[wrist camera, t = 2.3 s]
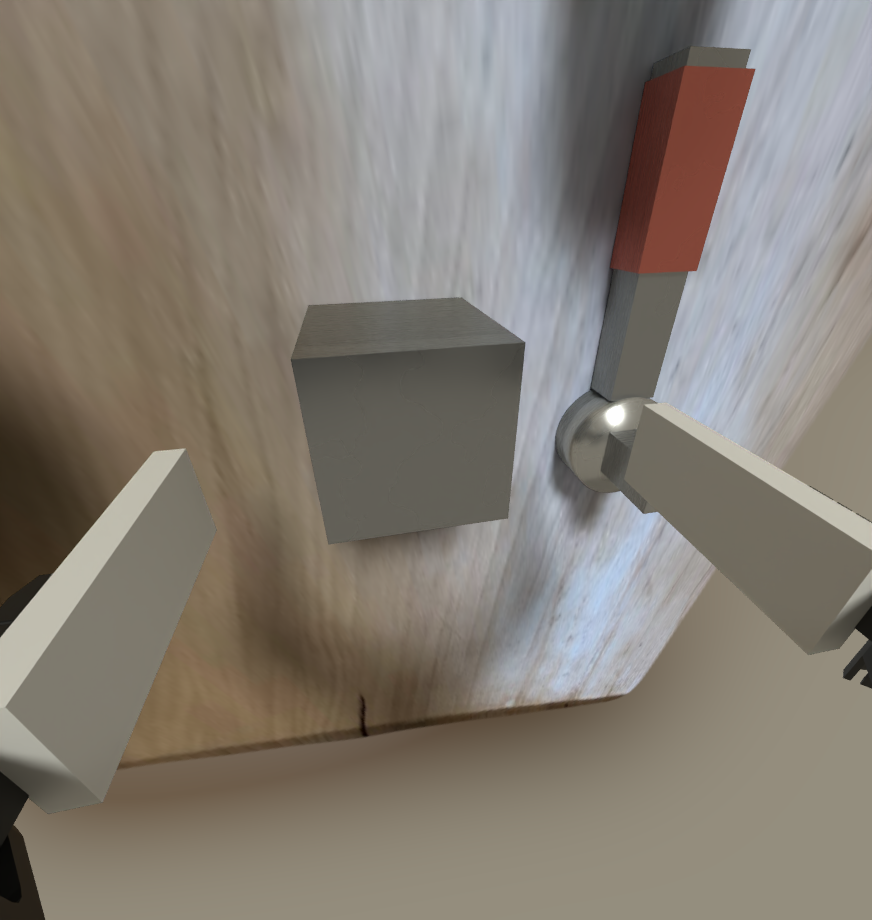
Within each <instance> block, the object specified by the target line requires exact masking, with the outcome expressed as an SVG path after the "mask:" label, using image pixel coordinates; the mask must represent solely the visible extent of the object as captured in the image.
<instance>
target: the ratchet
mask: <svg viewBox="0 0 872 920" xmlns="http://www.w3.org/2000/svg"><path fill="white" fill-rule="evenodd" d="M750 51H751V49H733V48H715V47H697V46H690V47H688V48H686V49H684V50H682V51H679V52H677V53H675V54H673V55H671V56H669V57H667V58H665V59H662V60H660V61H658V62H656V63H654V65H653V70H652V75H651V80H650V81H647V82H645V85H644V91H643V96H642V101H641V107H640V112H639V117H638V122H637V128H636V133H635V138H634V144H633V149H632V154H631V159H630V165H629V170H628V175H627V181H626V186H625V191H624V196H623V202H622V207H621V212H620V217H619V223H618V228H617V233H616V239H615V244H614V249H613V254H612V260H611V265H610V268H614V271H613V276H612V281H611V287H610V292H609V297H608V302H607V307H606V312H605V317H604V323H603V328H602V333H601V338H600V343H599V348H598V354H597V359H596V364H595V369H594V374H593V379H592V384H591V388H592V390H590V391H588V392H586V393H585V394H584V395H582V396H581V397H579V398H578V399H577V400H576V401H575V402H574V403H573V404H572V405H571V406H570V407H569V408H568V410H567V411H566V412H565V414H564V416H563V417H562V419H561V421H560V423H559V426H558V429H557V433H556V448H557V452H558V454H559V456H560V458H561V459H562V460H563V462H564V463H565V464H566V465H567V466H568V467H569V468H570V469H571V471H572V472H573V473H574V474H575V475H576V476H577V477H578V478H579V479H580V481H581V482H582V483H583V484H584V485H585V486H587V487H588V488H590V489H592V490H594V491H597V492H603V493H610V492H617V491H621V492H622V493H623V494H624V495H625V496H626V497H627V498H628V499H629V500H630V501H631V502H632V503H633V504H634V505H635V506H636V507H637V508H638V509H639V510H640V511H641V512H642V513H643V514H646V513H652V512H658V511H657V510H656V509H654V508H653V507H652V506H651V505H650V504H649V503H648V502H647V501H646V500H645V499H644V498H643V497H642V496H641V495H640V494H639V493H638V492H637V491H636V490H635V489H633V488H632V487H631V486H630V485H629V484H628V483H627V482H626V481H625V480H624V477H625V473H626V470H627V466H628V462H629V458H630V454H631V451H632V447H633V443H634V439H635V436H636V432H637V428H638V424H639V421H640V417H641V413H642V409H643V405H646V404H657V402H655V401H653V400H652V399H650V397H653V395H654V392H655V388H656V385H657V381H658V378H659V374H660V370H661V367H662V363H663V360H664V356H665V353H666V349H667V346H668V342H669V339H670V335H671V331H672V328H673V324H674V321H675V317H676V314H677V310H678V307H679V303H680V299H681V296H682V292H683V289H684V285H685V282H686V278H687V275H688V271H697V268H698V264H699V261H700V258H701V254H702V251H703V247H704V244H705V240H706V237H707V233H708V230H709V227H710V223H711V220H712V216H713V213H714V209H715V206H716V203H717V199H718V196H719V192H720V189H721V185H722V182H723V178H724V175H725V172H726V168H727V165H728V161H729V158H730V154H731V151H732V148H733V144H734V141H735V137H736V134H737V130H738V127H739V124H740V120H741V117H742V113H743V110H744V106H745V103H746V99H747V96H748V93H749V89H750V86H751V82H752V79H753V75H754V72H755V69H747V68H746V65H747V62H748V58H749V54H750Z"/></svg>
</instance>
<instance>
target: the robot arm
mask: <svg viewBox="0 0 872 920" xmlns="http://www.w3.org/2000/svg"><path fill="white" fill-rule="evenodd" d="M624 480H625V481H626V482H627V483H628V484H629V485H630V486H631V487H632V488H633V489H635V490H636V491H637V492H638V493H639V494H640V495H641V496H642V497H643V498H644V499H645V500H646V501H647V502H648V503H649V504H650V505H651V506H652V507H653V508H654V509H656V510H657V511H658V512H659V513H660V514H661V515H662V516H663V517H664V518H665V519H666V520H667V521H668V522H669V523H670V524H671V525H672V526H673V527H674V528H675V529H677V530H678V531H679V532H680V533H681V534H682V535H683V536H684V537H685V538H686V539H687V540H688V541H689V542H690V543H691V544H692V545H693V546H694V547H695V548H696V549H697V550H699V551H700V552H701V553H702V554H703V555H704V556H705V557H706V558H707V559H708V560H709V561H710V562H711V563H712V564H713V565H714V566H715V567H716V568H717V569H718V570H720V571H721V572H722V573H723V574H724V575H725V576H726V577H727V578H728V579H729V580H730V581H731V582H732V583H733V584H734V585H735V586H736V587H737V588H739V589H740V591H742V592H743V593H744V594H745V595H746V596H747V597H748V598H749V599H750V600H751V601H752V602H753V603H754V604H755V605H756V606H757V607H758V608H759V609H760V610H762V611H763V612H764V613H765V614H766V615H767V616H768V617H769V618H770V619H771V620H772V621H773V622H774V623H775V624H776V625H777V626H778V627H779V628H780V629H781V630H782V631H784V632H785V633H786V634H787V635H788V636H789V637H790V638H791V639H792V640H793V641H794V642H795V643H796V644H797V645H798V646H799V647H800V648H801V649H802V650H803V651H805V652H806V653H807V654H808V655H811V654H815V653H820V652H825V651H830V650H834V649H839V648H840V647H841V646H842V645H843V643H844V642H845V641H846V640H847V638H848V637H849V636H850V635H851V633H852V632H853V631H854V630H855V628H856V629H857V630H858V631H859V632H861V633H862V634H863V635H864V636H865V637H867V638H868V639H869V640H868V641H867V643H866V644H865V645H864V646H863V647H862V648H861V650H860V651H859V652H858V653H857V654H856V655H855V657H854V658H853V659H852V660H851V661H850V663H849V664H848V665H847V666H846V667H845V669H844V672H843V678H845V679H847V680H851V679H852V678H853V677H854V676H855V675H856V674H857V672H858V671H859V670H860V669H863V670H867V671H868V674H867V675H866V676H865V677H864V678H863V680H862V681H861V683H860V684H861V685H864V686H867V687H869V688H872V522H871V521H869V520H867V519H866V518H864V517H862V516H861V515H859V514H857V513H856V514H855V513H854V512H852V510H850V509H849V508H847V507H845V506H843V505H842V504H840V503H838V502H835V501H833V499H831V498H830V497H828V496H826V495H825V494H823V493H821V492H820V491H818V490H816V489H814V488H813V487H811V486H808V485H806V484H804V483H803V482H801V481H799V480H797V479H796V478H794V477H792V476H791V475H789V474H787V473H785V472H784V471H782V470H780V469H779V468H777V467H775V466H773V465H772V464H770V463H768V462H767V461H765V460H763V459H762V458H760V457H758V456H756V455H755V454H753V453H751V452H750V451H748V450H746V449H744V448H743V447H741V446H739V445H738V444H736V443H734V442H732V441H731V440H729V439H727V438H726V437H724V436H722V435H721V434H719V433H717V432H715V431H714V430H712V429H710V428H709V427H707V426H705V425H703V424H702V423H700V422H698V421H697V420H695V419H693V418H692V417H690V416H688V415H686V414H685V413H683V412H681V411H680V410H678V409H676V408H674V407H673V406H671V405H669V404H668V403H657V404H646V405H643V409H642V413H641V417H640V421H639V424H638V428H637V432H636V436H635V439H634V443H633V447H632V451H631V454H630V458H629V462H628V466H627V470H626V473H625V477H624ZM215 533H216V527H215V524H214V522H213V519H212V516H211V514H210V511H209V508H208V506H207V503H206V501H205V498H204V495H203V493H202V490H201V487H200V485H199V482H198V479H197V477H196V474H195V472H194V469H193V466H192V464H191V461H190V458H189V456H188V453H187V450H186V449H176V450H165V451H155V452H153V453H152V454H151V456H150V457H149V458H148V459H147V460H146V462H145V463H144V464H143V465H142V467H141V468H140V469H139V470H138V471H137V473H136V474H135V475H134V476H133V477H132V479H131V480H130V481H129V482H128V484H127V485H126V486H125V487H124V488H123V490H122V491H121V492H120V493H119V494H118V496H117V497H116V498H115V499H114V500H113V502H112V503H111V504H110V505H109V507H108V508H107V509H106V510H105V511H104V513H103V514H102V515H101V516H100V517H99V519H98V520H97V521H96V522H95V524H94V525H93V526H92V527H91V528H90V530H89V531H88V532H87V533H86V534H85V536H84V537H83V538H82V539H81V540H80V542H79V543H78V544H77V545H76V547H75V548H74V549H73V550H72V551H71V553H70V554H69V555H68V556H67V557H66V559H65V560H64V561H63V562H62V564H61V565H60V566H59V567H58V568H57V570H56V571H55V572H54V573H53V574H47V575H39V576H38V577H37V578H35V579H34V580H33V581H31V582H30V583H29V584H27V585H26V586H24V587H23V588H22V589H20V590H19V591H18V592H16V593H15V594H14V595H12V596H11V597H10V598H8V599H7V601H6V602H5V603H4V604H3V605H2V606H1V607H0V920H45V917H44V913H43V909H42V906H41V902H40V898H39V894H38V891H37V887H36V883H35V880H34V876H33V872H32V869H31V865H30V861H29V857H28V853H27V850H26V846H25V842H24V838H23V836H22V834H21V833H20V832H19V830H18V829H17V828H16V827H15V826H14V825H13V824H14V822H15V821H16V819H17V817H18V815H19V813H20V812H21V810H22V808H23V806H24V804H25V802H26V801H27V799H28V798H29V799H30V800H31V801H33V802H34V803H35V804H36V805H38V806H39V807H40V808H41V809H42V810H44V811H45V812H46V813H47V814H51V813H56V812H60V811H65V810H70V809H75V808H80V807H84V806H89V805H94V804H98V803H102V802H103V800H104V798H105V796H106V793H107V791H108V789H109V786H110V783H111V781H112V779H113V777H114V774H115V772H116V769H117V767H118V765H119V762H120V760H121V757H122V755H123V753H124V750H125V748H126V746H127V743H128V741H129V738H130V736H131V734H132V731H133V729H134V726H135V724H136V722H137V719H138V717H139V714H140V712H141V710H142V707H143V705H144V703H145V700H146V698H147V695H148V693H149V691H150V688H151V686H152V683H153V681H154V679H155V676H156V674H157V671H158V669H159V667H160V664H161V662H162V660H163V657H164V655H165V652H166V650H167V648H168V645H169V643H170V640H171V638H172V636H173V633H174V631H175V628H176V626H177V624H178V621H179V619H180V616H181V614H182V612H183V609H184V607H185V605H186V602H187V600H188V597H189V595H190V593H191V590H192V588H193V585H194V583H195V581H196V578H197V576H198V573H199V571H200V569H201V566H202V564H203V562H204V559H205V557H206V554H207V552H208V550H209V547H210V545H211V542H212V540H213V538H214V535H215Z"/></svg>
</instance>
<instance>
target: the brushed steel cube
mask: <svg viewBox="0 0 872 920" xmlns="http://www.w3.org/2000/svg"><path fill="white" fill-rule="evenodd" d="M524 351H525V342H524V341H523V340H521V339H520V338H518V337H517V336H516V335H514V334H513V333H511V332H510V331H508V330H507V329H506V328H504V327H503V326H501V325H500V324H498V323H497V322H496V321H494V320H493V319H491V318H490V317H489V316H487V315H486V314H484V313H483V312H481V311H480V310H479V309H477V308H476V307H474V306H473V305H471V304H470V303H469V302H467V301H466V300H464V299H463V298H442V299H423V300H404V301H385V302H366V303H347V304H328V305H309V306H308V309H307V312H306V315H305V318H304V321H303V324H302V327H301V330H300V333H299V336H298V339H297V342H296V345H295V348H294V351H293V354H292V358H291V362H292V367H293V372H294V377H295V382H296V387H297V392H298V397H299V402H300V407H301V412H302V417H303V422H304V426H305V431H306V436H307V441H308V446H309V451H310V456H311V461H312V466H313V471H314V476H315V481H316V486H317V490H318V495H319V500H320V505H321V510H322V515H323V520H324V525H325V530H326V535H327V540H328V544H335V543H342V542H348V541H355V540H362V539H369V538H376V537H383V536H390V535H397V534H403V533H410V532H417V531H424V530H431V529H438V528H445V527H452V526H459V525H465V524H472V523H479V522H486V521H493V520H500V519H507V518H508V512H509V502H510V491H511V481H512V471H513V461H514V451H515V441H516V431H517V421H518V411H519V401H520V391H521V381H522V371H523V361H524Z"/></svg>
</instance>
